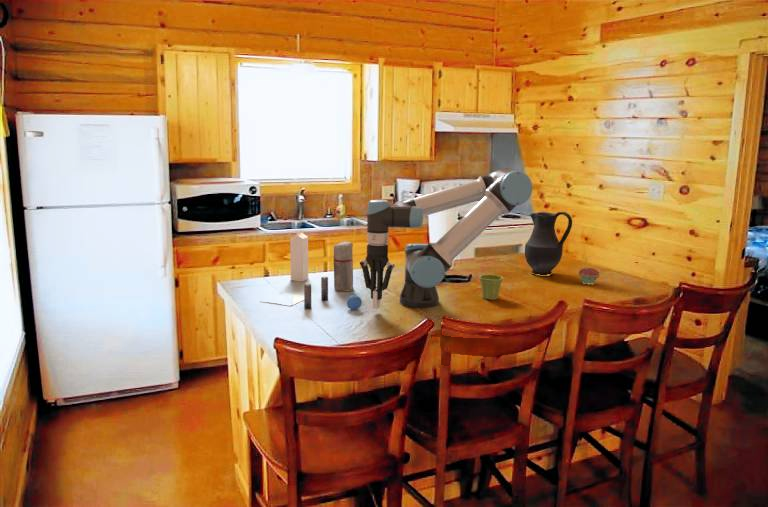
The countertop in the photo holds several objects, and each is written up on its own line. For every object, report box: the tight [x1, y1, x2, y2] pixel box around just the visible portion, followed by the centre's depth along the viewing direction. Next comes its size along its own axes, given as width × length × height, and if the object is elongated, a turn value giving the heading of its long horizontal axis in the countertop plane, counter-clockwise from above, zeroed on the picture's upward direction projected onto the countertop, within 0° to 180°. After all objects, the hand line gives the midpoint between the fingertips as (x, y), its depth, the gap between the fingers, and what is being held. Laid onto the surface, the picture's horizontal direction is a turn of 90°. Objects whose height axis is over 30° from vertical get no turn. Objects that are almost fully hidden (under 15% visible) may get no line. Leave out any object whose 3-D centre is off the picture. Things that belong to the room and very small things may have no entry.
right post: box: [320, 276, 329, 302], centre depth 238 cm, size 3×3×9 cm
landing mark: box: [281, 294, 304, 306], centre depth 239 cm, size 14×14×1 cm
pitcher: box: [524, 211, 573, 275], centre depth 284 cm, size 17×21×30 cm
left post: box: [303, 283, 312, 310], centre depth 227 cm, size 3×3×9 cm
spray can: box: [333, 240, 354, 292], centre depth 253 cm, size 8×8×20 cm
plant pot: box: [478, 274, 504, 301], centre depth 245 cm, size 9×9×9 cm
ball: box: [346, 294, 362, 311], centre depth 226 cm, size 6×6×6 cm
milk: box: [289, 228, 309, 282], centre depth 268 cm, size 6×6×22 cm
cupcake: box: [578, 258, 600, 284], centre depth 270 cm, size 9×8×12 cm
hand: (376, 307), depth 223 cm, fingers closed
